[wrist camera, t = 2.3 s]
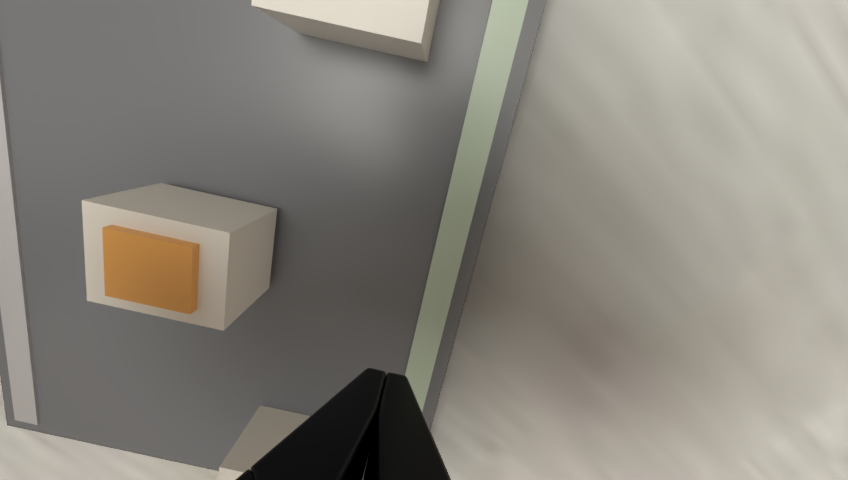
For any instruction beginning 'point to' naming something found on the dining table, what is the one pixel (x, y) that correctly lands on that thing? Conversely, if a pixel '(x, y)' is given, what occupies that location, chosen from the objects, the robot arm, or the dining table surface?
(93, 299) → the switch
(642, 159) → the dining table surface
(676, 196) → the dining table surface
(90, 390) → the switch panel
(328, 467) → the robot arm
